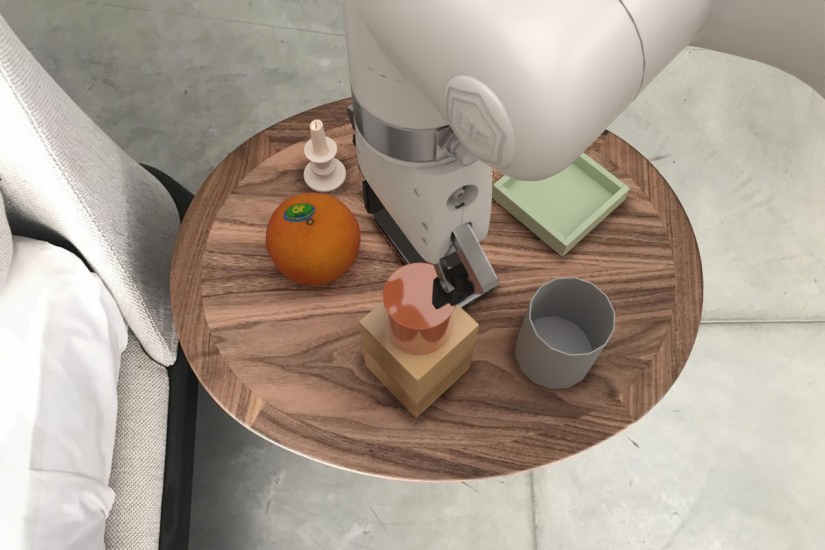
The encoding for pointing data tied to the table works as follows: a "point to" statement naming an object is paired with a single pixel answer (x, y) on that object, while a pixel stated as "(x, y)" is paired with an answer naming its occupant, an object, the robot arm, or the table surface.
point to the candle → (322, 161)
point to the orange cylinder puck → (415, 311)
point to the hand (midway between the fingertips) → (416, 249)
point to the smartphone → (409, 252)
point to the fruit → (313, 238)
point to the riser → (417, 360)
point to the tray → (563, 202)
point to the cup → (564, 332)
